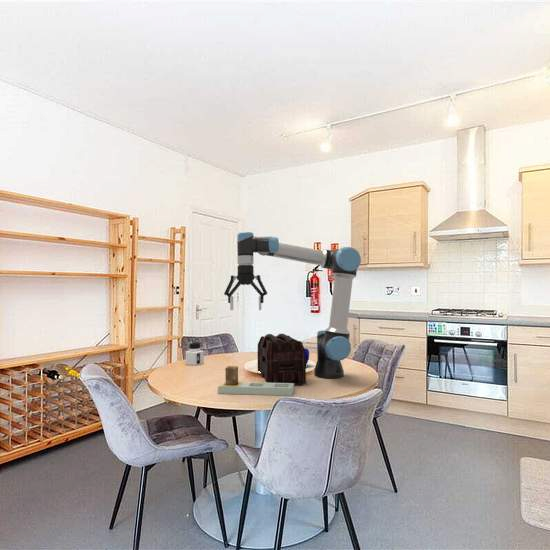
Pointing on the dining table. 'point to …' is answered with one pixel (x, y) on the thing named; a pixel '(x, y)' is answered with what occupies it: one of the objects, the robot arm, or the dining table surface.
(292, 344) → the crate
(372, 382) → the dining table surface
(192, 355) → the container
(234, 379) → the walnut block
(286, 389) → the sorting tray
